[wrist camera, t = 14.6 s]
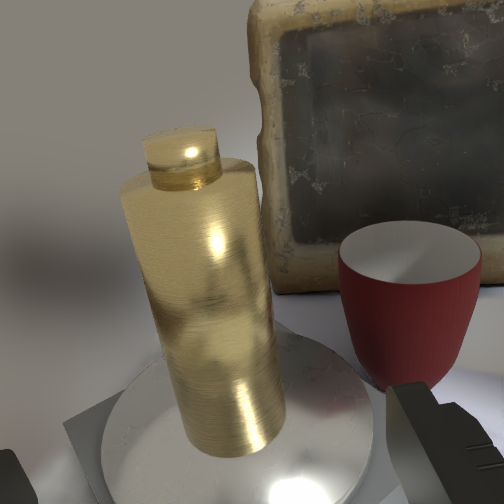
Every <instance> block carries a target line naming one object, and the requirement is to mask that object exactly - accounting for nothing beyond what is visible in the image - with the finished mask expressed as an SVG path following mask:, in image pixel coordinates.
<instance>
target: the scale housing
mask: <svg viewBox="0 0 504 504" xmlns="http://www.w3.org/2000/svg"><path fill="white" fill-rule="evenodd" d="M275 327H276V330H277V331H284V332H289V333H293V332H292V331H290V330H289V329H287V328H286V327H284V326H283V325H281V324H280V323H278V322H277V321H276V320H275ZM293 334H295V333H293ZM360 379H361V378H360ZM361 381H362V383H363V384H364V386H365V388H366V390H367V393H368V396H369V399H370V402H371V407H372V413H373V450H372V456H371V462H370V465H369V468H368V471H367V474H366V477H365V479H364V481H363V483H362V485H361V487H360V488H359V490H358V492H357V494H356V495H355V497H354V498H353V499H352V501H351V502H350V504H409V503H408V500H407V498H406V496H405V493H404V491H403V489H402V486H401V484H400V482H399V479H398V477H397V475H396V472H395V470H394V468H393V465H392V462H391V459H390V456H389V452H388V448H387V443H386V396H385V395H384V394H383V393H381V392H380V391H378V390H377V389H375V388H374V387H372V386H371V385H369V384H368V383H366V382H365V381H363V380H362V379H361ZM125 390H126V389H125ZM125 390H123V391H121V392H119V393H117V394H116V395H114V396H112V397H110V398H108V399H106V400H104V401H102V402H101V403H99V404H97V405H95V406H93V407H91V408H89V409H88V410H86V411H84V412H82V413H80V414H78V415H76V416H75V417H73V418H71V419H69V420H67V421H65V422H64V423H63V425H64V427H65V429H66V432H67V434H68V436H69V439H70V441H71V443H72V445H73V448H74V450H75V452H76V455H77V457H78V459H79V461H80V464H81V466H82V468H83V470H84V473H85V475H86V477H87V479H88V482H89V484H90V486H91V488H92V490H93V493H94V495H95V497H96V499H97V501H98V504H115V503H114V501H113V499H112V496H111V494H110V491H109V489H108V486H107V484H106V481H105V478H104V474H103V469H102V464H101V446H102V439H103V433H104V430H105V427H106V423H107V420H108V418H109V416H110V414H111V412H112V409H113V407H114V406H115V404H116V403H117V401H118V399H119V398H120V396H121V395H122V393H123V392H124V391H125Z"/></svg>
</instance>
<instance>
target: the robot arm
mask: <svg viewBox="0 0 504 504" xmlns="http://www.w3.org/2000/svg"><path fill="white" fill-rule="evenodd" d="M386 443H387V448H388V452H389V456H390V459H391V462H392V465H393V468H394V470H395V472H396V475H397V477H398V479H399V482H400V484H401V486H402V489H403V491H404V493H405V496H406V498H407V500H408V503H409V504H504V458H503V456H502V455H501V453H500V452H499V451H498V449H497V448H496V447H494V445H493V442H492V440H491V439H490V437H489V436H488V434H487V433H486V432H485V430H484V429H483V427H482V426H481V424H480V423H479V421H478V420H477V419H476V418H475V417H473V416H472V415H471V414H469V413H468V412H467V411H465V410H464V409H463V408H462V407H460V406H459V405H458V404H456V403H455V402H451V403H445V404H440V405H439V404H438V402H437V400H436V399H435V397H434V395H433V394H432V392H431V391H430V389H429V387H428V386H427V384H426V383H425V382H423V381H417V382H411V383H405V384H399V385H393V386H388V387H387V389H386ZM0 504H38V499H37V495H36V493H35V491H34V489H33V487H32V485H31V483H30V481H29V479H28V478H27V476H26V474H25V472H24V470H23V468H22V467H21V464H20V463H19V461H18V459H17V457H16V455H15V453H14V452H13V451H12V450H10V449H4V450H0Z"/></svg>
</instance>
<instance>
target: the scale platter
mask: <svg viewBox="0 0 504 504" xmlns="http://www.w3.org/2000/svg"><path fill="white" fill-rule="evenodd" d="M276 334H277V342H278V350H279V357H280V365H281V373H282V380H283V388H284V396H285V403H286V419H285V422H284V425H283V427H282V429H281V431H280V432H279V434H278V435H277V436H276V437H275V438H274V439H273V440H272V441H271V442H270V443H269V444H268V445H266V446H265V447H263V448H262V449H260V450H258V451H256V452H254V453H251V454H248V455H245V456H241V457H234V458H221V457H215V456H210V455H208V454H205V453H203V452H201V451H200V450H198V449H197V448H196V447H194V446H193V445H192V444H191V442H190V441H189V439H188V438H187V436H186V433H185V430H184V426H183V422H182V419H181V415H180V412H179V408H178V404H177V401H176V397H175V393H174V390H173V386H172V383H171V379H170V375H169V372H168V368H167V364H166V361H165V357H164V356H162V357H161V358H160V359H158V360H157V361H155V362H154V363H152V364H151V365H150V366H149V367H147V368H146V369H145V370H144V371H143V372H141V373H140V374H139V375H138V376H137V377H136V378H135V379H134V380H133V381H132V382H131V383H130V385H129V386H128V387H127V388H126V390H125V391H124V392H123V393H122V395H121V396H120V398H119V399H118V401H117V403H116V404H115V406H114V407H113V409H112V412H111V414H110V416H109V418H108V420H107V423H106V427H105V430H104V433H103V439H102V446H101V464H102V469H103V474H104V478H105V481H106V484H107V486H108V489H109V491H110V494H111V496H112V499H113V501H114V503H115V504H350V502H351V501H352V499H353V498H354V497H355V495H356V494H357V492H358V490H359V488H360V487H361V485H362V483H363V481H364V479H365V477H366V474H367V471H368V468H369V465H370V462H371V456H372V450H373V413H372V407H371V402H370V399H369V396H368V393H367V390H366V388H365V386H364V384H363V383H362V381H361V379H360V377H359V376H358V375H357V373H356V372H355V371H354V369H353V368H352V367H351V366H350V365H349V364H348V363H347V362H346V361H345V360H344V359H343V358H342V357H341V356H339V355H338V354H337V353H335V352H334V351H333V350H331V349H329V348H328V347H326V346H324V345H323V344H321V343H319V342H316V341H314V340H312V339H309V338H307V337H303V336H300V335H297V334H293V333H289V332H284V331H277V330H276Z"/></svg>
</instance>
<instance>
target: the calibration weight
mask: <svg viewBox="0 0 504 504" xmlns="http://www.w3.org/2000/svg"><path fill="white" fill-rule="evenodd" d="M142 143H143V147H144V152H145V156H146V160H147V165H148V168H149V170H148V171H146V172H144V173H141V174H139V175H137V176H135V177H133V178H131V179H130V180H128V181H127V182H126V183H124V185H123V186H122V187H121V188H120V191H119V194H120V198H121V201H122V205H123V209H124V212H125V216H126V219H127V223H128V226H129V230H130V234H131V238H132V241H133V245H134V248H135V252H136V256H137V259H138V263H139V267H140V270H141V274H142V277H143V281H144V285H145V288H146V292H147V295H148V299H149V302H150V306H151V310H152V314H153V317H154V321H155V324H156V328H157V332H158V335H159V339H160V343H161V346H162V350H163V354H164V357H165V361H166V364H167V368H168V372H169V375H170V379H171V383H172V386H173V390H174V393H175V397H176V401H177V404H178V408H179V412H180V415H181V419H182V422H183V426H184V430H185V433H186V436H187V438H188V439H189V441H190V442H191V444H192V445H193V446H194V447H196V448H197V449H198V450H200V451H201V452H203V453H205V454H208V455H210V456H215V457H221V458H234V457H241V456H245V455H248V454H251V453H254V452H256V451H258V450H260V449H262V448H263V447H265V446H266V445H268V444H269V443H270V442H271V441H272V440H273V439H274V438H275V437H276V436H277V435H278V434H279V432H280V431H281V429H282V427H283V425H284V422H285V419H286V403H285V396H284V388H283V380H282V373H281V365H280V357H279V350H278V342H277V334H276V327H275V319H274V311H273V304H272V296H271V288H270V281H269V273H268V265H267V258H266V250H265V242H264V235H263V227H262V219H261V212H260V204H259V196H258V189H257V181H256V173H255V168H254V166H253V165H252V164H250V163H249V162H247V161H244V160H239V159H234V158H220V154H219V148H218V142H217V136H216V130H215V128H213V127H210V126H188V127H180V128H174V129H170V130H165V131H161V132H159V133H155V134H152V135H150V136H148V137H146V138H145V139H143V140H142Z"/></svg>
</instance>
